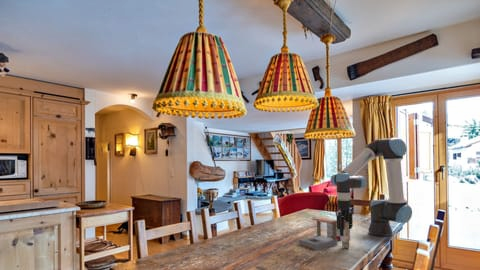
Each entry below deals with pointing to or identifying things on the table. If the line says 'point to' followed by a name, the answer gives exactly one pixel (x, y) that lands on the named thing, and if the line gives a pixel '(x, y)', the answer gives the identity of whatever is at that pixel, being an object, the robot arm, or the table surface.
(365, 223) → the table surface
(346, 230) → the peg
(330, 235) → the ink box
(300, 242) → the socket porch
